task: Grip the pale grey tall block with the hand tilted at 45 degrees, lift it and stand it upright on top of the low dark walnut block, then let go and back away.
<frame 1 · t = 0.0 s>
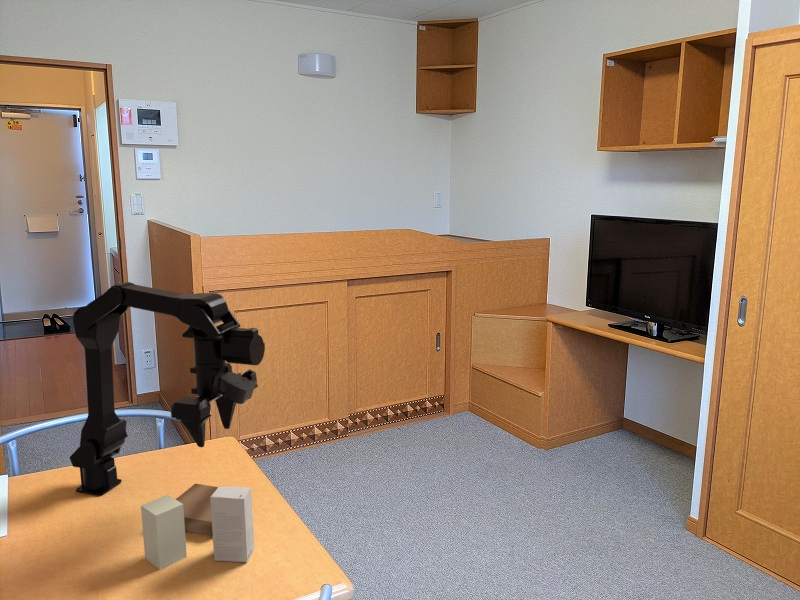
hand: (214, 437, 128), 15 cm above the table, tool pointing down, fingers open, 9 cm apart
pale grey tall block: (165, 557, 114), on the table
walnut block: (205, 518, 128), on the table
skincare box: (234, 556, 115), on the table
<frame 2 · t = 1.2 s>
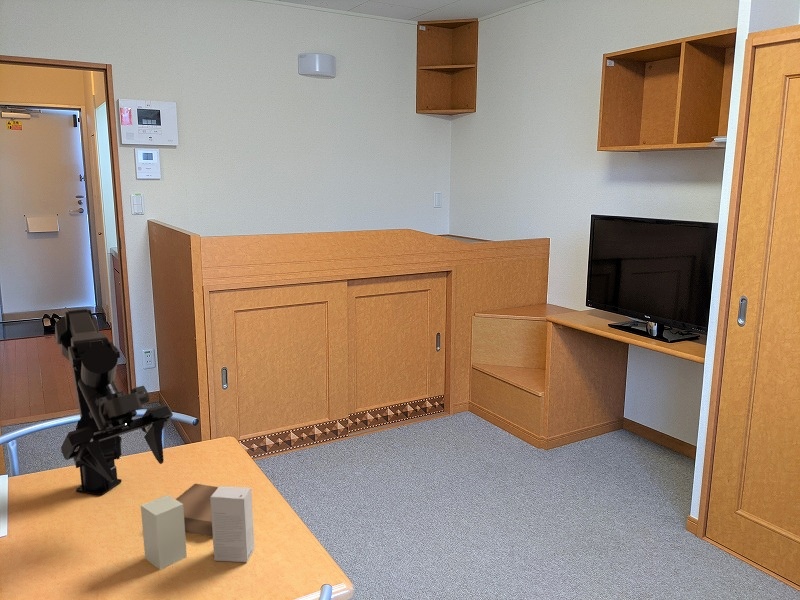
hand: (138, 471, 117), 13 cm above the table, tool tilted 45°, fingers open, 9 cm apart
nothing on the table moved.
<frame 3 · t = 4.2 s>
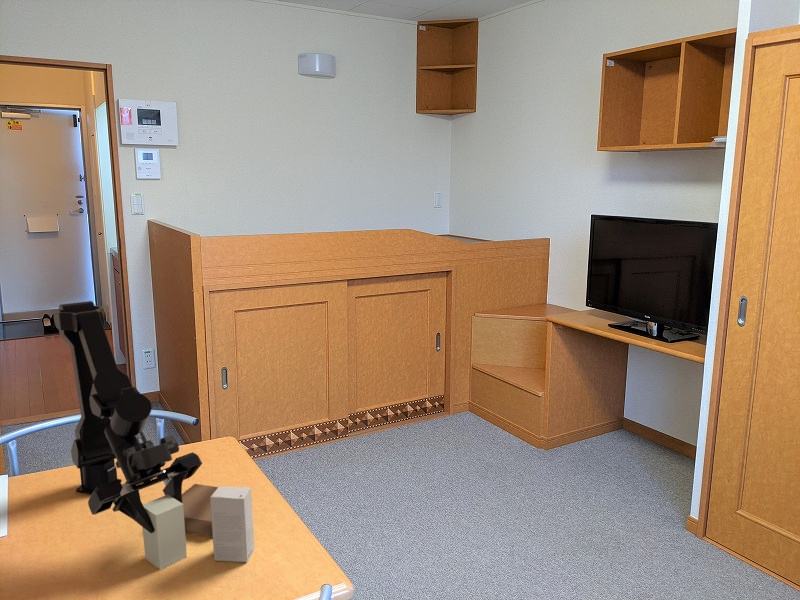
hand: (167, 525, 112), 7 cm above the table, tool tilted 45°, fingers closed on pale grey tall block, 5 cm apart
pale grey tall block: (166, 557, 114), on the table, touching gripper
everything else where it was.
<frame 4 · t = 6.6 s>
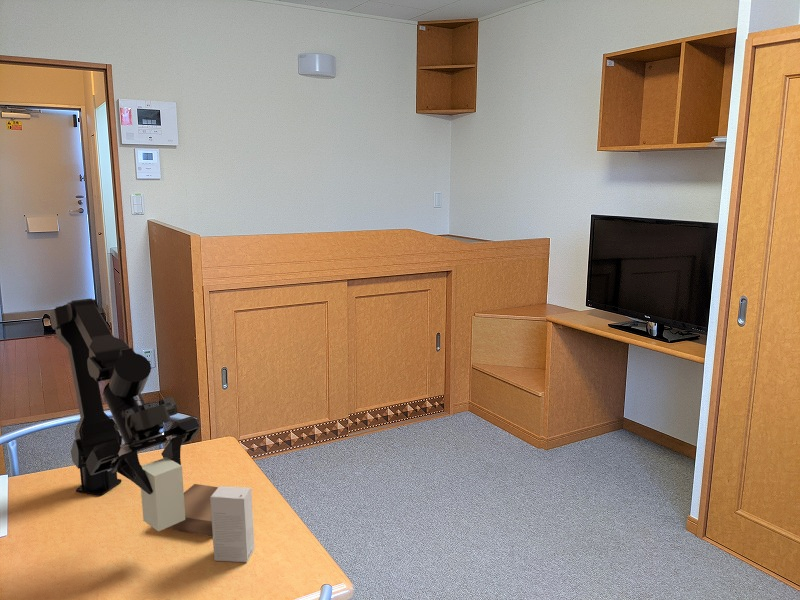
hand: (166, 487, 111), 13 cm above the table, tool tilted 45°, fingers closed on pale grey tall block, 5 cm apart
pale grey tall block: (164, 520, 113), point 7 cm above the table, touching gripper
everything else where it was.
when the fingers open (11 cm above the table, at t = 9.0 s): pale grey tall block drops 1 cm, point 3 cm above the table.
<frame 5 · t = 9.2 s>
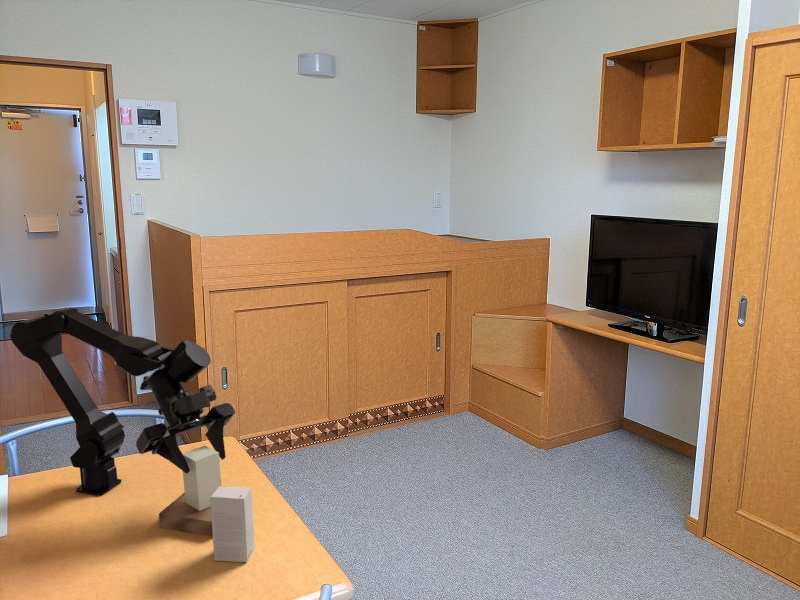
hand: (206, 465, 124), 11 cm above the table, tool tilted 45°, fingers open, 7 cm apart
pale grey tall block: (204, 501, 127), point 3 cm above the table
everything else where it was.
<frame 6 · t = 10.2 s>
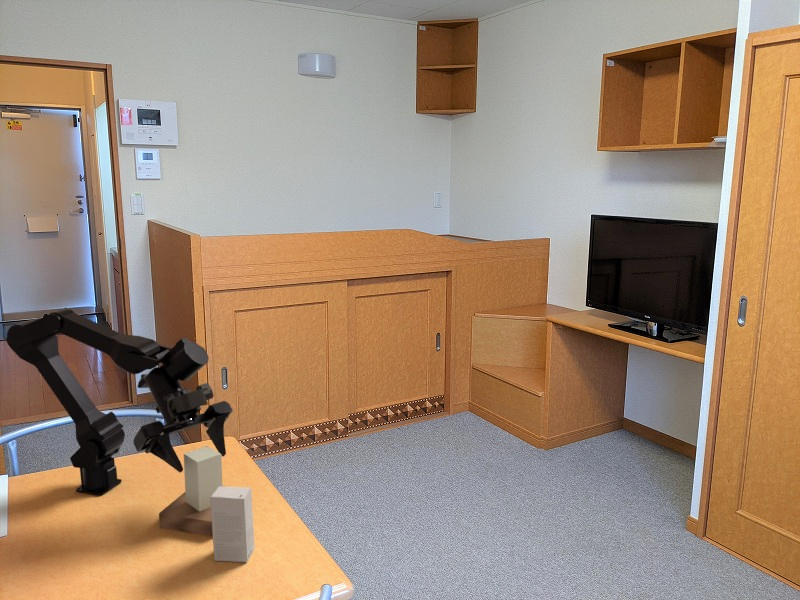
hand: (203, 463, 125), 11 cm above the table, tool tilted 45°, fingers open, 9 cm apart
pale grey tall block: (204, 502, 127), point 3 cm above the table, touching walnut block
walnut block: (205, 518, 128), on the table, touching pale grey tall block
everything else where it was.
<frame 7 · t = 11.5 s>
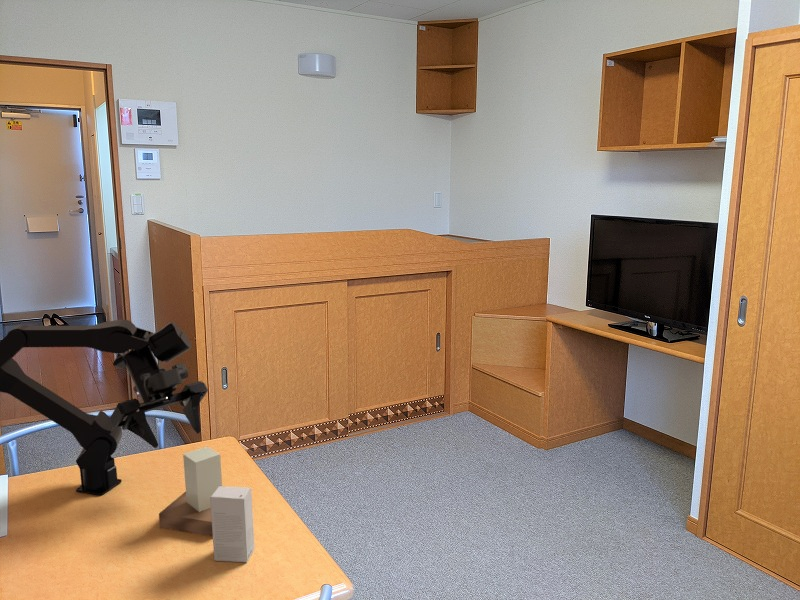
hand: (178, 439, 130), 14 cm above the table, tool tilted 45°, fingers open, 9 cm apart
nothing on the table moved.
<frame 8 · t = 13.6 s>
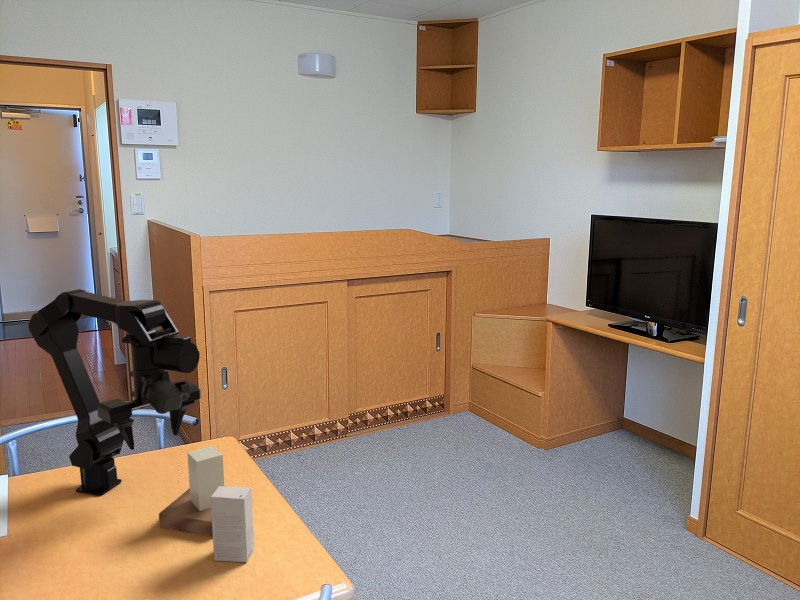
hand: (154, 442, 130), 13 cm above the table, tool pointing down, fingers open, 9 cm apart
at the end: pale grey tall block inside the target area on the walnut block (0.6 cm from its centre), point 3.6 cm above the walnut block's base; pale grey tall block tilted 1°; the gripper is holding nothing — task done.
